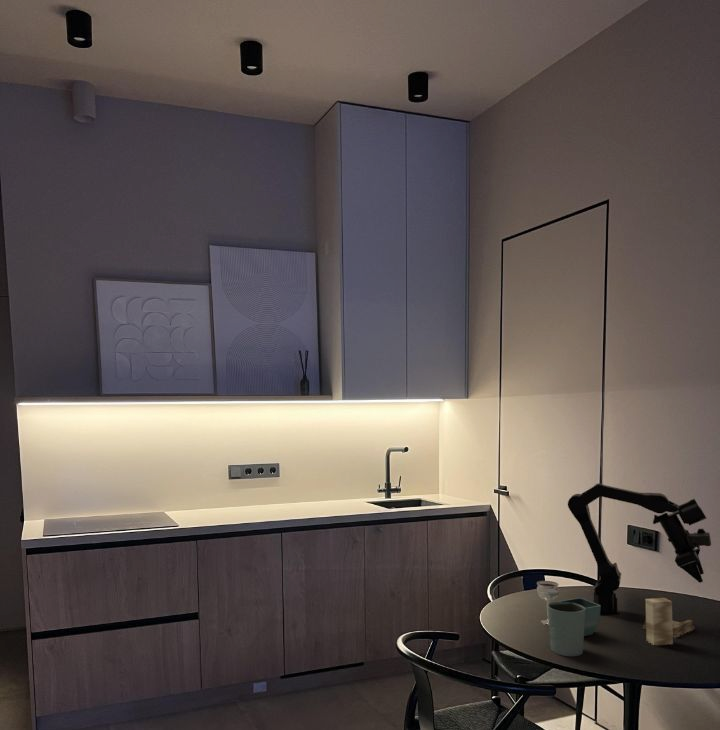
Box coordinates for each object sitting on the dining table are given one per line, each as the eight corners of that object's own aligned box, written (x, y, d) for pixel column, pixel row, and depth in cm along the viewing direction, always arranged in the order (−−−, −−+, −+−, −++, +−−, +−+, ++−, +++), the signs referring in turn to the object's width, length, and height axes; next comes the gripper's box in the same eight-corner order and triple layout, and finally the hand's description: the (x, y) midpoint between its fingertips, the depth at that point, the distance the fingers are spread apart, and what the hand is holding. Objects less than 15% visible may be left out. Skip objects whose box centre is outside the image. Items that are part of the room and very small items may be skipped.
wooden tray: (675, 638, 194) (675, 629, 194) (642, 629, 202) (642, 620, 202) (694, 629, 201) (694, 621, 201) (662, 621, 209) (662, 612, 209)
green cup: (546, 654, 181) (545, 609, 182) (549, 641, 191) (549, 599, 191) (585, 659, 178) (584, 613, 178) (587, 646, 187) (586, 603, 188)
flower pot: (578, 640, 192) (578, 609, 192) (558, 631, 200) (557, 600, 200) (602, 636, 195) (601, 605, 196) (581, 627, 203) (580, 597, 204)
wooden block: (654, 645, 188) (652, 602, 189) (646, 641, 191) (645, 598, 192) (673, 644, 189) (671, 601, 190) (665, 639, 192) (663, 597, 193)
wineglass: (535, 624, 206) (534, 584, 207) (539, 617, 212) (538, 579, 213) (557, 627, 203) (556, 587, 204) (561, 620, 209) (560, 582, 210)
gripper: (699, 527, 199) (727, 577, 196) (701, 515, 216) (727, 561, 212) (663, 541, 204) (690, 590, 200) (668, 528, 220) (693, 573, 217)
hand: (701, 577), depth 207 cm, fingers open, 9 cm apart
